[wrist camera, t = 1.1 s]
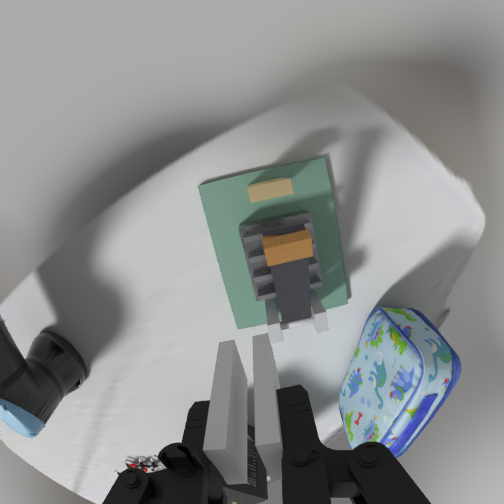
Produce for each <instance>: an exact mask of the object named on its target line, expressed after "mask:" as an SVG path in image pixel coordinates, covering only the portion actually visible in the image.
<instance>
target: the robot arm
mask: <svg viewBox="0 0 504 504" xmlns="http://www.w3.org/2000/svg"><path fill="white" fill-rule="evenodd" d="M4 322H5V321H4V320H3V319H2V318H1V316H0V419H1V420H2V421H3V422H4V423H5V424H6V425H7V426H9V427H10V428H11V429H13V430H14V431H16V432H17V433H19V434H21V435H23V436H26V437H30V438H32V437H36V436H37V435H38V434H39V432H40V431H41V430H42V429H43V428H44V427H45V424H46V423H47V421H48V420H49V418H50V417H51V415H52V414H53V412H54V411H55V409H56V408H57V406H58V405H59V403H60V401H61V400H62V399H63V397H64V396H66V395H68V394H69V393H71V392H73V391H75V390H76V389H78V388H79V387H80V386H81V385H82V384H83V382H84V381H85V379H86V368H85V365H84V362H83V360H82V359H81V357H80V355H79V354H78V352H77V351H76V350H75V349H74V347H73V346H72V345H71V344H70V343H69V342H67V341H66V340H65V339H64V338H62V337H61V336H59V335H57V334H55V333H52V332H42V333H40V334H39V335H38V336H37V337H36V338H35V339H34V341H33V343H32V345H31V347H30V350H29V352H28V355H27V357H26V359H24V357H23V356H22V354H21V352H20V351H19V349H18V347H17V346H16V344H15V342H14V340H13V339H12V337H11V335H10V333H9V331H8V329H7V327H6V325H5V324H4ZM253 373H254V413H255V446H256V448H257V450H258V453H259V455H260V457H261V459H262V461H263V463H264V466H265V468H266V470H267V472H268V474H269V476H270V478H271V480H279V479H282V496H283V504H331V500H330V497H336V498H350V500H351V501H352V503H353V504H431V503H430V502H429V500H428V499H427V498H426V497H425V495H424V494H423V493H422V491H421V490H420V489H419V487H418V486H417V485H416V484H415V482H414V481H413V480H412V478H411V477H410V476H409V475H408V473H407V472H406V471H405V469H404V468H403V467H402V466H401V464H400V463H399V462H398V460H397V459H396V458H395V456H394V455H393V454H392V453H391V451H390V450H389V449H388V447H386V446H385V445H384V444H383V443H379V442H376V441H373V442H365V443H362V444H359V445H358V446H357V447H355V448H354V449H353V450H332V449H330V448H327V447H326V446H324V445H323V444H322V443H321V442H320V440H319V437H318V433H317V429H316V425H315V421H314V417H313V413H312V409H311V404H310V400H309V396H308V392H307V391H306V390H305V389H304V388H303V387H302V386H301V385H295V386H291V387H286V388H281V389H280V383H279V376H278V371H277V367H276V363H275V359H274V355H273V351H272V347H271V344H270V340H269V336H268V333H266V334H261V335H256V336H253ZM157 458H158V459H159V460H160V461H161V462H162V463H163V464H164V466H165V467H166V469H163V470H160V471H155V472H151V473H146V472H145V471H144V470H142V469H140V468H129V469H126V470H124V471H123V472H122V473H121V474H120V475H119V476H118V478H117V480H116V481H115V483H114V485H113V486H112V488H111V490H110V491H109V493H108V495H107V497H106V498H105V500H104V502H103V503H102V504H227V495H226V491H225V490H224V489H223V483H224V480H225V482H226V483H227V484H228V485H230V484H245V483H247V377H246V374H245V371H244V368H243V365H242V362H241V359H240V356H239V353H238V350H237V347H236V344H235V341H234V340H230V341H225V342H219V348H218V354H217V360H216V366H215V373H214V379H213V385H212V392H211V398H210V400H209V401H199V402H195V403H194V404H193V405H192V407H191V408H190V409H189V412H188V416H187V421H186V425H185V430H184V434H183V439H182V443H173V444H170V445H168V446H166V447H164V448H163V449H162V450H161V451H160V452H159V455H158V457H157Z"/></svg>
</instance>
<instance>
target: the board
mask: <svg viewBox="0 0 504 504" xmlns="http://www.w3.org/2000/svg"><path fill="white" fill-rule="evenodd" d="M198 188H199V192H200V196H201V200H202V204H203V208H204V212H205V215H206V219H207V223H208V227H209V230H210V234H211V238H212V242H213V245H214V249H215V253H216V256H217V260H218V263H219V267H220V270H221V274H222V277H223V281H224V284H225V288H226V291H227V295H228V298H229V302H230V305H231V308H232V312H233V315H234V318H235V322H236V325H237V328H238V329H243V328H248V327H253V326H258V325H262V324H267V325H268V329H269V333H270V337H271V341H272V343H277V342H281V341H283V336H282V331H281V330H284V329H288V328H292V327H297V326H301V325H305V324H309V323H314V326H315V328H316V330H317V333H319V332H323V331H327V330H329V329H328V321H327V314H326V309H330V308H334V307H338V306H341V305H345V304H348V298H347V289H346V280H345V272H344V264H343V257H342V250H341V243H340V236H339V230H338V224H337V218H336V212H335V206H334V201H333V195H332V190H331V185H330V180H329V175H328V170H327V166H326V161H325V158H319V159H314V160H308V161H303V162H298V163H293V164H288V165H283V166H278V167H273V168H269V169H264V170H260V171H255V172H251V173H247V174H242V175H238V176H234V177H230V178H226V179H222V180H218V181H214V182H210V183H206V184H203V185H199V186H198ZM305 209H306V210H307V211H309V212H311V218H312V223H313V228H314V234H315V239H316V245H317V250H318V256H319V262H320V269H321V275H322V281H323V286H321V287H317V288H313V289H310V294H311V316H312V317H311V318H307V319H303V320H299V321H295V322H290V323H286V324H283V323H282V321H281V320H282V318H281V314H280V309H279V304H278V300H277V297H275V298H271V299H266V300H262V301H256V297H255V293H254V289H253V285H252V281H251V277H250V273H249V269H248V265H247V261H246V257H245V253H244V249H243V245H242V241H241V237H240V233H239V229H238V228H239V224H243V223H247V222H252V221H256V220H260V219H265V218H269V217H274V216H278V215H282V214H287V213H291V212H296V211H301V210H305ZM280 321H281V322H280Z"/></svg>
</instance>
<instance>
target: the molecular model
mask: <svg viewBox="0 0 504 504" xmlns="http://www.w3.org/2000/svg"><path fill="white" fill-rule="evenodd" d="M139 461H140V465H138V466H137V465H134V464H132V463H131V464H127V463H126V462H125V461H124V462H123V463H124V464H125V465H127V467H128V469H129V468H132V467H137V468H140V469H143V470H144V471H147V468H149V469H150V470H152V472H155V471H154V468H156V467H160V468H162V467H163V466H162V465H157V464H156V463H154V459H153V458H151V461H152V464H151V465H150V466H148V465H144V464H143V463H142V459H141V458H139ZM144 467H147V468H144ZM114 472H115V473H117V474H118V475H120V474H121V473H119V472H118V471H117V470H114Z"/></svg>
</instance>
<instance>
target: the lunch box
mask: <svg viewBox="0 0 504 504" xmlns="http://www.w3.org/2000/svg"><path fill="white" fill-rule="evenodd" d="M460 374H461V362H460V359H459V357H458V355H457V354H456V352H455V351H454V350H453V349H452V348H451V346H450V345H449V344H448V343H447V341H446V340H445V339H444V337H443V336H442V335H441V334H440V332H439V331H438V330H437V329H436V328H435V326H434V325H433V324H432V323H431V322H430V321H429V320H428V319H427V318H426V317H425V316H424V315H423V314H422V313H421V312H420V311H418V310H415V309H412V308H408V309H399V308H385V307H378V308H376V309H375V310H374V311H373V312H372V313H371V314H370V316H369V317H368V319H367V321H366V323H365V326H364V329H363V332H362V335H361V338H360V341H359V344H358V347H357V350H356V352H355V355H354V357H353V360H352V361H351V364H350V366H349V369H348V372H347V374H346V376H345V378H344V381H343V383H342V385H341V389H340V396H339V409H340V414H341V418H342V421H343V425H344V428H345V431H346V434H347V438H348V442H349V445H350V448H351V450H353V449H354V448H355V447H357V446H358V445H359V444H362V443H365V442H373V441H376V442H379V443H383V444H384V445H385V446H386V447H388V449H389V450H390V451H391V453H392V454H393V455H394V456H395V458H398V457H400V456H401V455H402V454H403V453H405V452H406V451H407V449H408V448H409V447H410V446H411V445H412V443H413V442H414V441H415V439H416V438H417V437H418V436H419V435H420V433H421V432H422V431H423V430H424V428H425V427H426V426H427V424H428V423H429V422H430V421H431V420H432V419H433V417H434V416H435V414H436V413H437V412H438V410H439V409H440V407H441V406H442V405H443V403H444V401H445V400H446V399H447V397H448V395H449V394H450V393H451V391H452V390H453V388H454V387H455V385H456V383H457V381H458V379H459V377H460Z"/></svg>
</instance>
